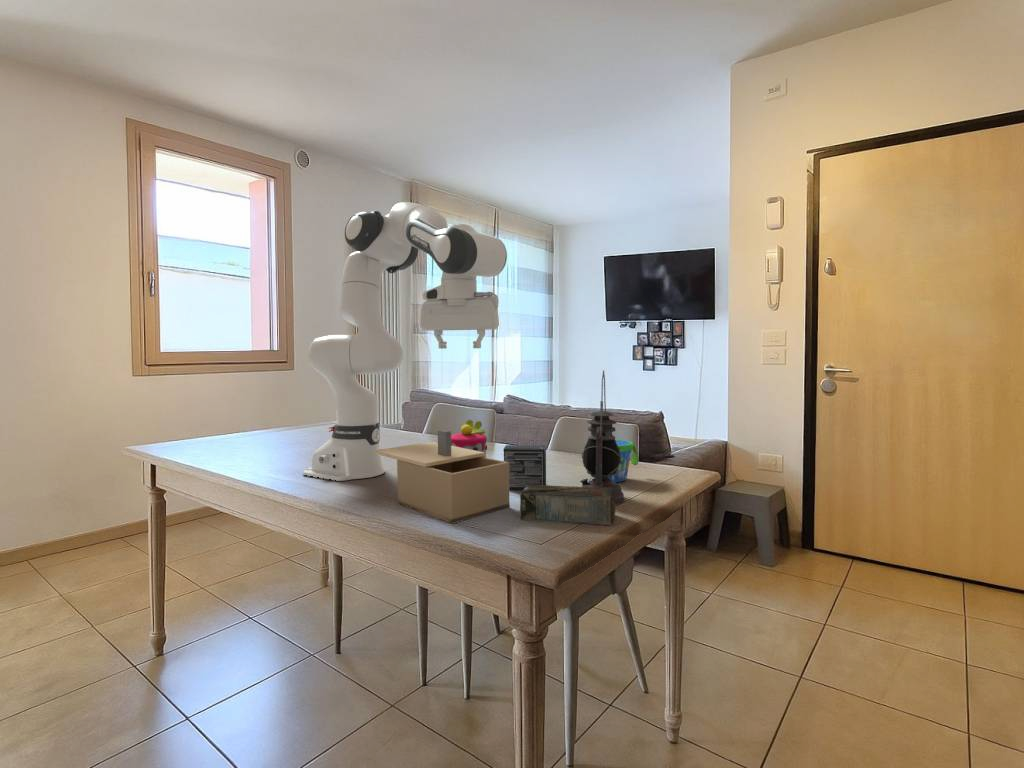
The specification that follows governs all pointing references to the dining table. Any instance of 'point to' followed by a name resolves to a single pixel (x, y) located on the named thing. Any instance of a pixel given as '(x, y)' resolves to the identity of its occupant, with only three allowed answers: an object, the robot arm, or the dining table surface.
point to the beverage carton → (568, 504)
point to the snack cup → (625, 460)
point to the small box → (525, 465)
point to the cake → (470, 437)
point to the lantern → (602, 451)
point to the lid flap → (431, 452)
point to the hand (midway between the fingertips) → (459, 348)
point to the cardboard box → (455, 487)
